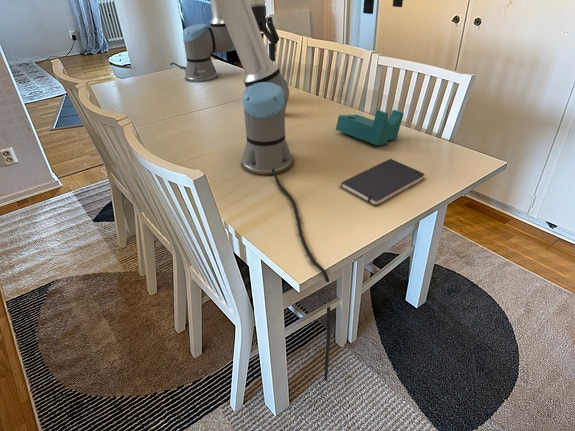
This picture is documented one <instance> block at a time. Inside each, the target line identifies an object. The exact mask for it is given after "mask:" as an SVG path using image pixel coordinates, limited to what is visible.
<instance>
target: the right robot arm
mask: <svg viewBox="0 0 575 431" xmlns="http://www.w3.org/2000/svg"><path fill="white" fill-rule="evenodd" d="M216 3H217V5H218V8H219V10H220V13H221V15H222V17H223V20H224V22H225V25H226V27H227V30H228V32H229V34H230V37H231V39H232V42H233V44H234V47H235V49H236V50H235V51H236V54H237V57H238V59H239V61H240V63H241V66H242V68H243V71H244V77H243V79H242V82H243V83H244V86H245V89H244V91H243V94H242V108H243V114H244V124H245V136H246V137H245V138H246V143H245V146H244V151H243V155H242V166H243V168H244V170H246V171H247V172H249V173H252V174H254V175H255V174H256V175H262V176H269V175H273V177H274V179H275V182H276V185H277V186H278V188H279V189H280V191H281V192H282V193H283V194H284V195H285V196H287V198H288V199H289V201H290V203H291V206H292V208H293V212H294V216H295V220H296V224H297V229H298V230H297V231H298V235H299V238H300V241H301V244H302V246H303V249H304V252H305V253H306V255H307V256H308V258H309V260H310V262H311V263H312V264H313V265H314V266H315V267H316V268H317V269H318V270H319V271H320V272H321V274H322V276H323V278H324V280H325V282H326V283H330V278H329V276H328V273H327V271H326V270H325V268H324V267H323V266H321V264H320V263H318V262H317V261H316V259H315V258H314V256H313V254H312V253H311V251H310V249H309V247H308V245H307V243H306V240H305V237H304V234H303V230H302V225H301V220H300V216H299V213H298V208H297V205H296V203H295V202H296V201H295V200H294V199H293V197H292V195H291V194H290V193H289V192H288V191H287V190H286V189H285V188H284V187H283V186H282V184H281V182H280V180H279V177H278V175H277V174H280V173H283V172H286V171H287V170H289V169H290V167H291V166H292V163H293V157H292V153H291V150H290V148H289V145H288V143H287V140H286V109H287V105H288V102H289V99H290V98H289V97H290V88H289V85H288V82H287V81H286V79H285V77H284V76H283V75H282V73H281V70H280V67H279V65H278V64H276V63H274V62H273V61H271V60H270V57H269V51H268V49H267V47H266V44H265V41H264V39H263V36H262V32H260V30H259V28H258V25H257V22H256V19H255V17H254V14H253V11H252V9H251V6H250V3H249V0H216ZM403 3H404V0H392V7H393V8H403ZM374 7H375V0H363V8H362V11H363V12H362V13H363V14H368V15H373V14H374V10H375V9H374ZM331 316H332V315H331V305H329V306H328V307H327V308H326V342H325V343H326V344H325V360H324V377H323V378H324V379H323V381H324V382H327V381H328V375H329V374H328V372H329V359H330V358H329V357H330V345H331V322H332V321H331Z"/></svg>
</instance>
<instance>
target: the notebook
mask: <svg viewBox="0 0 575 431" xmlns="http://www.w3.org/2000/svg"><path fill="white" fill-rule="evenodd" d="M424 176H425V173H424V172H422V171H420V170H417V169H415V168H413V167H410V166H408V165H406V164H404V163H401V162H399V161H397V160H395V159H393V158H389V159H387V160H385V161H382V162H380V163H379V164H377V165H375V166H372V167H370V168H368V169H366V170H364V171H362V172H360V173H358V174H356V175H353V176H351V177H350V178H348V179H345V180H344V181H341V182H340V183H341V184H340V187H341V188H342V189H344V190H345V191H347V192H349V193H350V194H353V195H355V196H356V197H358V198H360V199H362V200H363V201H365V202H367V203H369V204H371V205H373V206H379V205H381V204H382V203H384V202H386V201H388V200H390V199H391V198H393V197H395V196H397V195H398V194H400V193H402V192H404V191H406V190H407V189H409V188H411V187H413V186H415V185H416V184H418V183H420V182H422V181H423V180H424Z"/></svg>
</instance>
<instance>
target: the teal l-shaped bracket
mask: <svg viewBox="0 0 575 431" xmlns="http://www.w3.org/2000/svg"><path fill="white" fill-rule="evenodd" d="M404 114H405V113H404V112H402V111H400V110H397V109H392V111H391V113H390V115H389V112H386V111H384V110H383V111H382V110H379V109H378V110H376V111H375V115H374V119H372V118H369V117H366V116H363V115H360V114H339V115H338V117H337V121H336V127H335V130H336V131H338V132H342V133H344V134H346V135H349V136H351V137H354V138H356V139H359V140H361V141H365V142H367V143H370V144H373V145H375V146H384V145H385V146H386V145H387V144H388V141H393V140H397V139H398V138H397V137H398V135H399V132H400V127H401V125H402V121H403V118H404Z"/></svg>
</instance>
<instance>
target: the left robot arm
mask: <svg viewBox="0 0 575 431" xmlns="http://www.w3.org/2000/svg"><path fill="white" fill-rule="evenodd" d="M209 1H210V9H211V16H212V18H211V20H210V21H209V26H208V25H207V24H205V23H199V24H193V25H189V26H186V27H185V28H184V29H183V30H182V42H183V46H184V53H185V58H186V66H182V65H179V64H177V63H175V62H170V64H169V66H172V65H174V66H176V67H178V68H180V69H184V70H185V74H184V75H185V76H184V77H185V80H186V81H189V82H193V83H194V82H195V83H198V82H199V83H202V82H209V81H212V80H214V79H217V77H218V73H217V70H216V67H215V66H214V63H213V61H212V54H219V53H227V52H228V53H229V52H232V51H236V49H235V47H234V44H233V42H232V39H231V37H230V34H229V32H228V30H227V27H226V25H225V22H224V20H223V17H222V15H221V13H220V10H219V8H218V5H217V3H216V0H209ZM249 3H250V6H251V9H252V11H253V14H254V17H255V19H256V22H257V25H258V28H259V30H260V33H262V34H263V35H264V36H265V37H266V39H267V40H268V41H269V43H268V55H269V57H270V60H271V62H276V51H277V48H276V45H277V44H278V42H279V41H280V37H279V34H278V32H277V29H276V27H275V25H274V22H273V20H274V19H273V17H272V16H267V6H266V3H267V1H266V0H249Z"/></svg>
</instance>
